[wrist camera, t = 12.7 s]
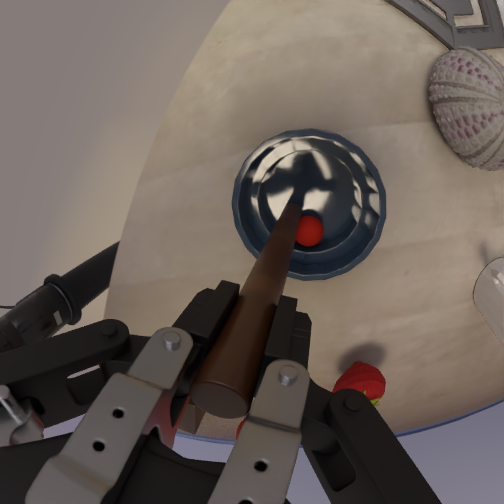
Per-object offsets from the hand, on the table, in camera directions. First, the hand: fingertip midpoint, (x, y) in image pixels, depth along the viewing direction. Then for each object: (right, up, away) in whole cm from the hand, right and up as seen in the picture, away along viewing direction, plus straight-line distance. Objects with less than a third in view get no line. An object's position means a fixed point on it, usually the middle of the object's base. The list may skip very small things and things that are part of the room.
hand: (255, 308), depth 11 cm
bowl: (+6, +8, +16) cm, 19 cm away
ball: (+5, +4, +15) cm, 17 cm away
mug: (+30, -1, +14) cm, 33 cm away
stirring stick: (+4, +6, +15) cm, 17 cm away
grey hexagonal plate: (+22, +33, +2) cm, 40 cm away
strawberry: (+14, -13, +23) cm, 30 cm away
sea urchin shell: (+24, +18, +8) cm, 30 cm away
